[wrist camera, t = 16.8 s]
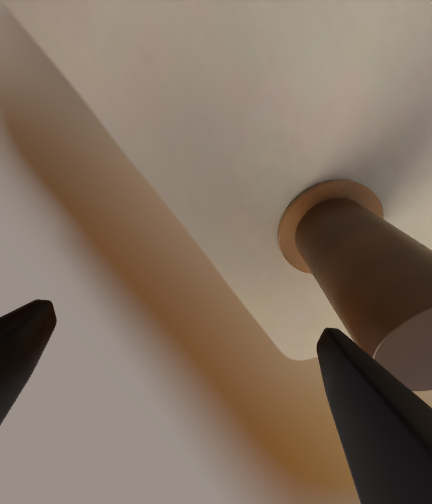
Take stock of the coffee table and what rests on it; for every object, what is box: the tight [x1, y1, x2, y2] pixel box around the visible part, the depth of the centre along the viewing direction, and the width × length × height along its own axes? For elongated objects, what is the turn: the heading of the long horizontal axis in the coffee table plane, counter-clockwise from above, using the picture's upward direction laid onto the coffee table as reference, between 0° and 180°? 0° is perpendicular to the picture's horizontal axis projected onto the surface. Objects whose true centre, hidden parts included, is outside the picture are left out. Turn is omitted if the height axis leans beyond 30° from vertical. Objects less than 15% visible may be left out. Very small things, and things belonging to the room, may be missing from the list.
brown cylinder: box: [295, 198, 432, 391], centre depth 15 cm, size 6×6×11 cm
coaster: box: [278, 180, 383, 274], centre depth 20 cm, size 8×8×1 cm
